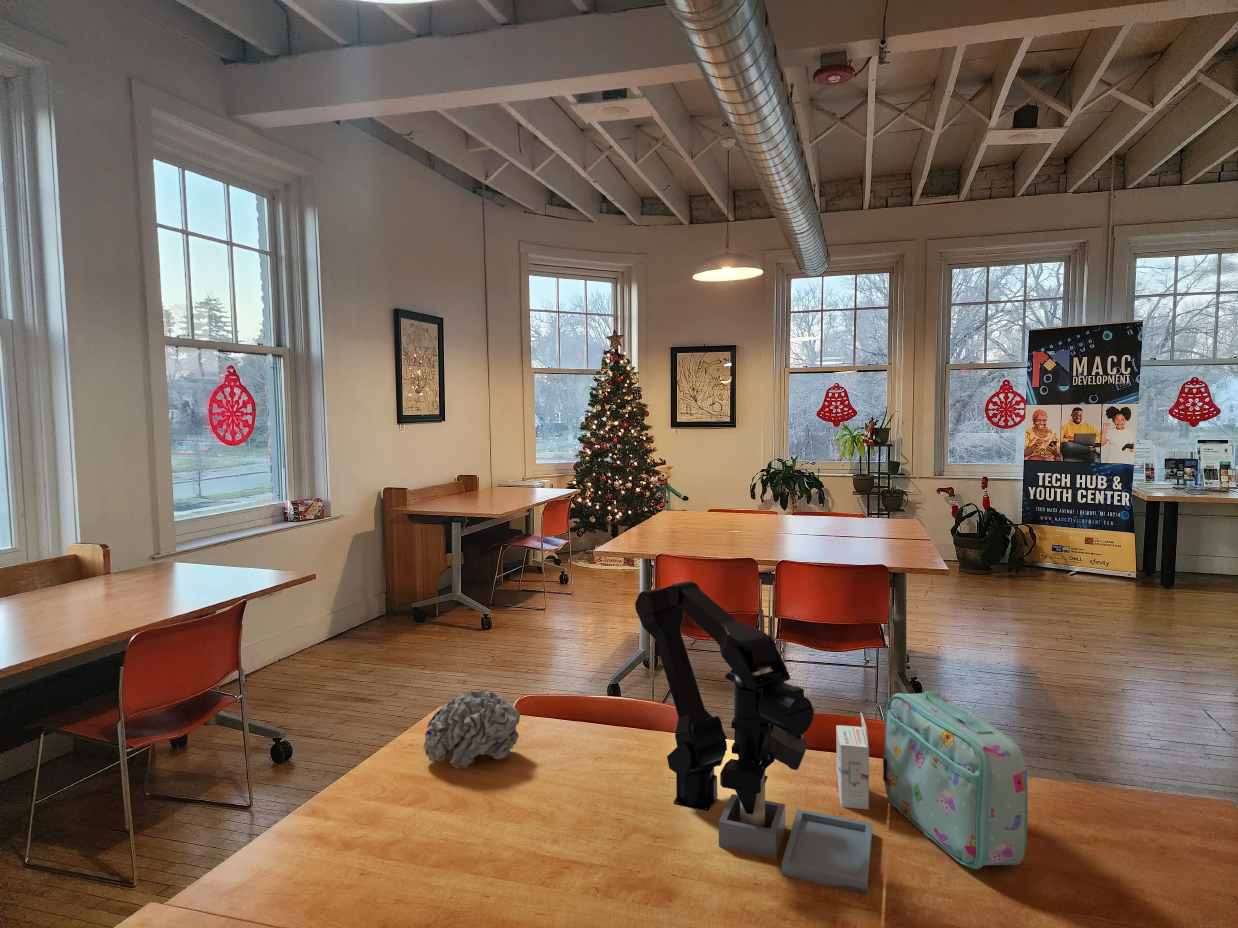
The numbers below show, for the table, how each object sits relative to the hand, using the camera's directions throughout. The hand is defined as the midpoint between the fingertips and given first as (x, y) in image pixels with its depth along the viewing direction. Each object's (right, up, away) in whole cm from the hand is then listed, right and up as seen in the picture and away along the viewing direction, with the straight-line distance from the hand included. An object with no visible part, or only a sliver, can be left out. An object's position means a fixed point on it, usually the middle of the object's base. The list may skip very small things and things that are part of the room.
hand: (752, 806), depth 113 cm
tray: (+11, -6, -4) cm, 13 cm away
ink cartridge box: (+20, -5, +12) cm, 24 cm away
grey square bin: (0, -6, 0) cm, 6 cm away
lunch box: (+32, -5, +2) cm, 33 cm away
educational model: (-52, -5, +29) cm, 60 cm away
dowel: (0, -5, 0) cm, 5 cm away
